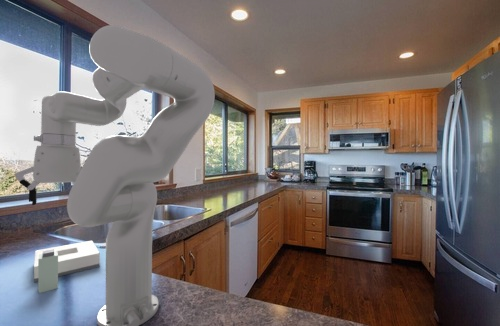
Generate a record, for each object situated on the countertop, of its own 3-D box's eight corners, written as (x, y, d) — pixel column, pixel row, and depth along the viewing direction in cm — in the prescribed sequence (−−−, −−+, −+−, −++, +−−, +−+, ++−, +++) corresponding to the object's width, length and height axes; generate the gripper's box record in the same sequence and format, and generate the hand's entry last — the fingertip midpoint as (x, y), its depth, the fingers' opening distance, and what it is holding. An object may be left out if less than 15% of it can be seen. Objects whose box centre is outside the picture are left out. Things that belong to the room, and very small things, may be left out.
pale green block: (57, 288, 65) (58, 251, 65) (38, 293, 62) (38, 255, 62) (57, 282, 68) (57, 247, 68) (38, 287, 65) (38, 251, 65)
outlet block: (99, 266, 78) (99, 252, 78) (34, 282, 68) (34, 266, 68) (92, 252, 90) (92, 240, 90) (35, 263, 80) (35, 250, 80)
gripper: (13, 138, 58) (12, 208, 58) (97, 143, 69) (95, 202, 69) (17, 139, 64) (16, 203, 64) (93, 144, 75) (92, 198, 75)
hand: (57, 202), depth 67 cm, fingers open, 9 cm apart
